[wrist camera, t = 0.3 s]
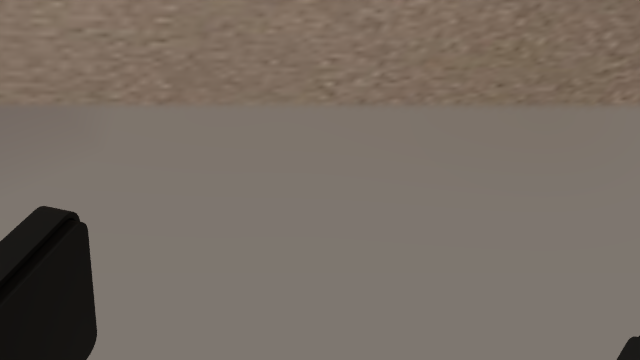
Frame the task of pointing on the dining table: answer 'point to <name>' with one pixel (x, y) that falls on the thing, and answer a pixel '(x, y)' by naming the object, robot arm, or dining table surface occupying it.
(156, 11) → the dining table surface
